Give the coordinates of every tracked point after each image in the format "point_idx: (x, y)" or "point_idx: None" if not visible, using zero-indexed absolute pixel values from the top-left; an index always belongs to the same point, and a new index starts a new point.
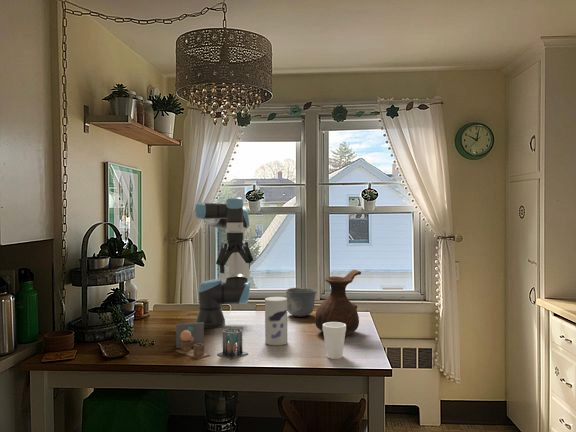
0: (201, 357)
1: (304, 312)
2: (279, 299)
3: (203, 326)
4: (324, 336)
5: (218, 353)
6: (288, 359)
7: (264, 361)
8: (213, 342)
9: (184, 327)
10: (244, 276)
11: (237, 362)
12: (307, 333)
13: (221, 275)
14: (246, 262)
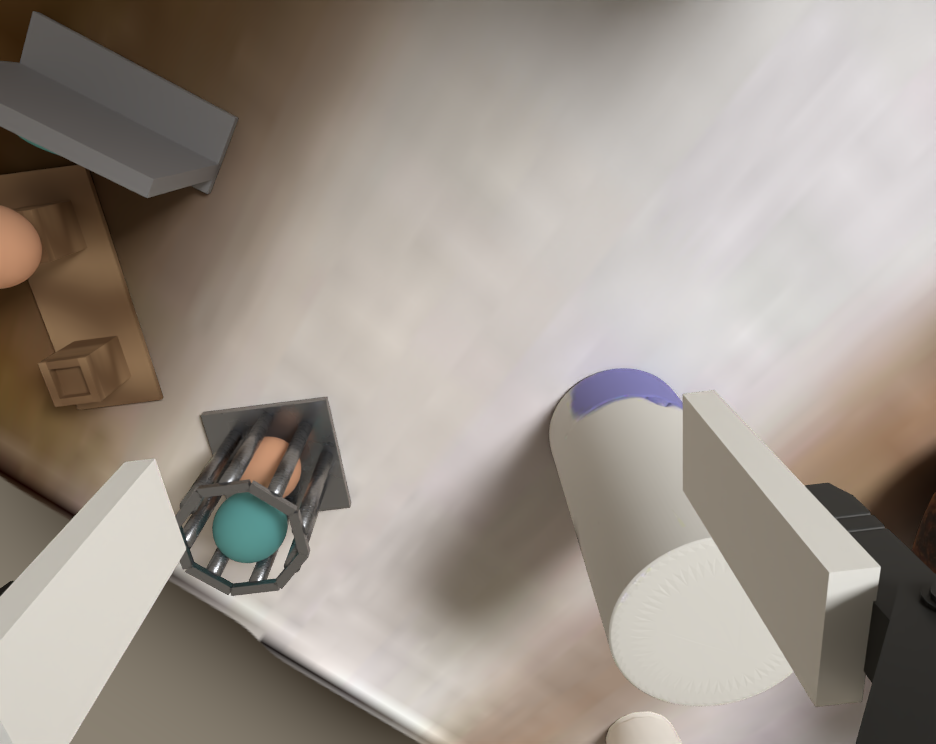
0: (101, 406)
1: None
2: (699, 680)
3: (158, 192)
4: None
5: (208, 417)
6: (461, 660)
7: (356, 622)
8: (305, 156)
9: None
10: (684, 412)
11: (241, 564)
12: (906, 396)
13: (83, 521)
14: (878, 633)
